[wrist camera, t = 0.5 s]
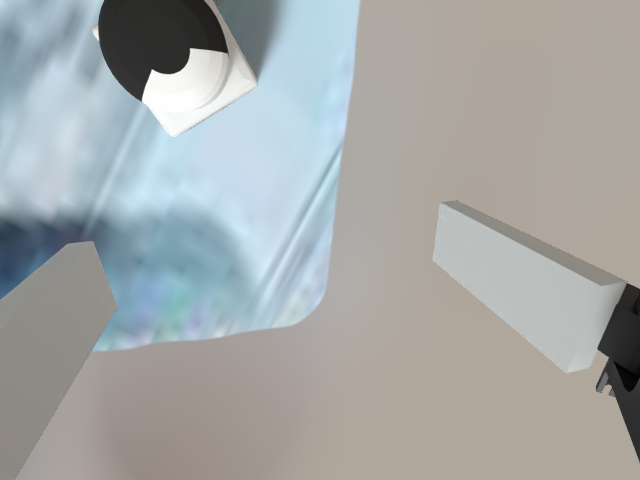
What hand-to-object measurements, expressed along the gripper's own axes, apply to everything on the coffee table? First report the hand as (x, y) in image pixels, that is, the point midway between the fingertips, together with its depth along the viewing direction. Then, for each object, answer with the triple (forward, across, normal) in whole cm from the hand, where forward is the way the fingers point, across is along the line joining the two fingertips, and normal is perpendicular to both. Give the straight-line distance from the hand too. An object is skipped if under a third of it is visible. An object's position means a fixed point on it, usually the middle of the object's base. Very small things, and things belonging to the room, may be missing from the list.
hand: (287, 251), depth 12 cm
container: (+23, -5, +8) cm, 25 cm away
